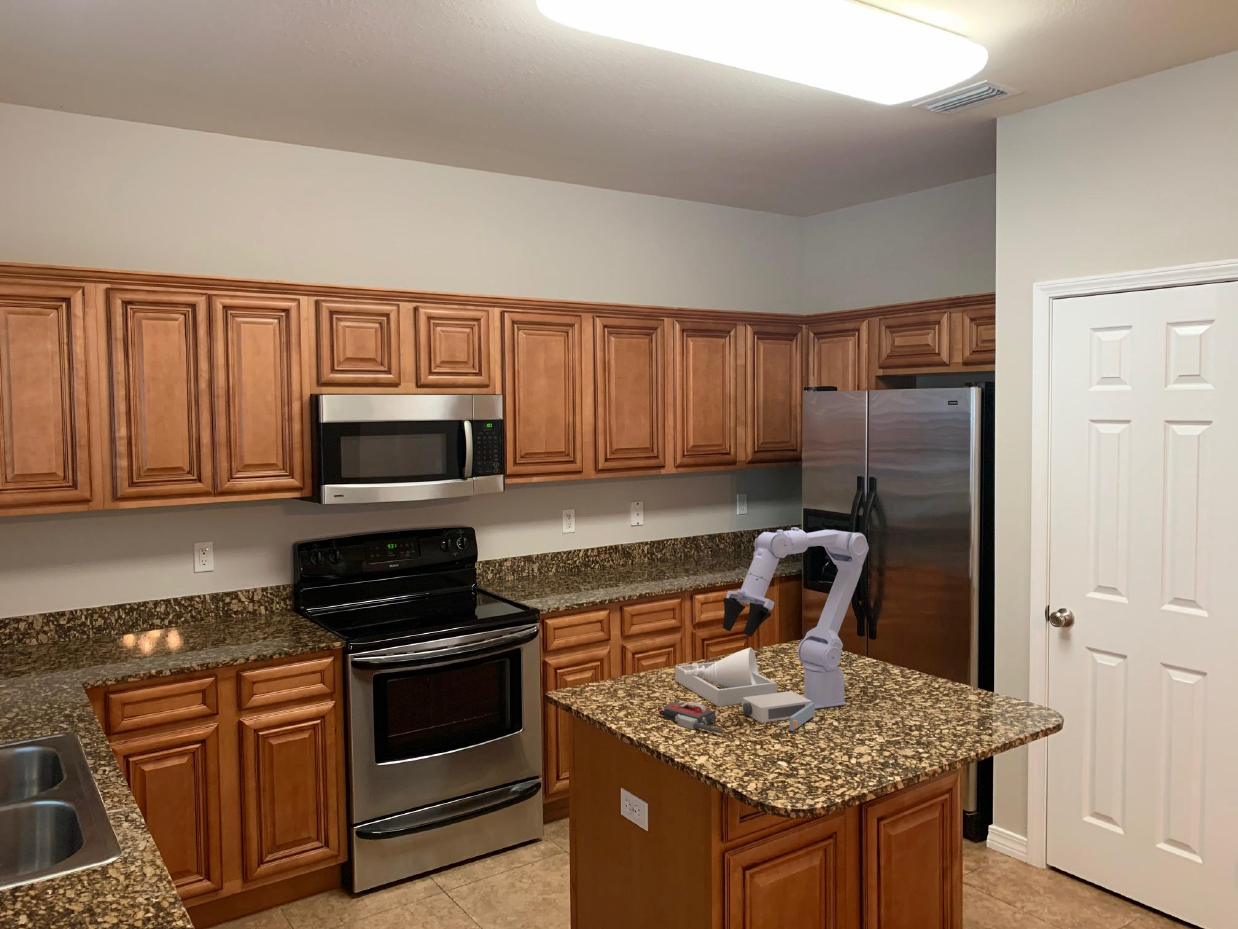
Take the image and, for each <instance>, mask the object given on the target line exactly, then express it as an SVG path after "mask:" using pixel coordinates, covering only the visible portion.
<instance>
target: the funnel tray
mask: <svg viewBox="0 0 1238 929" xmlns="http://www.w3.org/2000/svg"><path fill="white" fill-rule="evenodd" d="M716 661H717V660H716ZM716 661H712V662H711V661H709V662H702V663H701V662H700V663H697V664H698V669H699V668H701V667H702V666H704V667H705V669H706V668H708V667H709V666H711V665H712V664H715V662H716ZM718 661H719V660H718ZM718 661H717V662H718ZM692 664H693V663H692ZM692 664H691V663H690V664H683V665H676V666H675V667H674V668H675V672H674V674H675V676H674V678H675V679H674V680H675V682H677V683H678V684H680V685H681V686H683V687H685V688H686V689H688V690H690V691H691V692H694V693H695V694H697V695H698V696H700V697H702V698H703V699H705V700H706V701H708V702H709V703H711V704H713V705H714V706H717V707H724V706H731V705H733V706H734V705H739V704H740V705H742V698H743V697H750V696H758V695H765V694H773V693H778V683H777V682H776V681H774V680H772V679H770V678H768V677H767V676H764V675H762V674H760V673H759V672H758V673H752V675H753V678H754V680H755V682H756V685H748V686H740V687H732V688H728V687H725V688H718V687H716V686H715V685H714V684H712V683H711V682H710V683H709V681H707V680H706V681H704V680H703V679H701V678H699V677H697V676H696V675H693V674H690V675H688V674H687V675H685V674H684V671H685V670H686V671H688V670H693V669H694V668H693V666H692ZM690 668H691V669H690ZM687 669H688V670H687Z"/></svg>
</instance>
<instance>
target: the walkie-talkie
mask: <svg viewBox="0 0 1238 929" xmlns="http://www.w3.org/2000/svg"><path fill="white" fill-rule="evenodd" d="M658 712H659V713H658V714H659V715H660V716H663V718H664V719H667V720H671V721H674V722H676V723H677V724H678V726H680V727H682V728H686V729H689V730H692V731H693V730H695V729H701V730H704V731H706V732H711V733H712V732H715V733H719V734H723V730H722V729H721V728H720V729H719V728H716V727H713V726H709V725H711V724H714V723H716V720H717V716H716V711H715V710H711V709H708V708H707V706H706V705H705V704H701V703H698V702H695V701H691V702H689V703H686V702H685V700H682V701H675V702H672V703H669V704H665V705H664V707H663V710H662V709H661V710H659V711H658Z"/></svg>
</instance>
